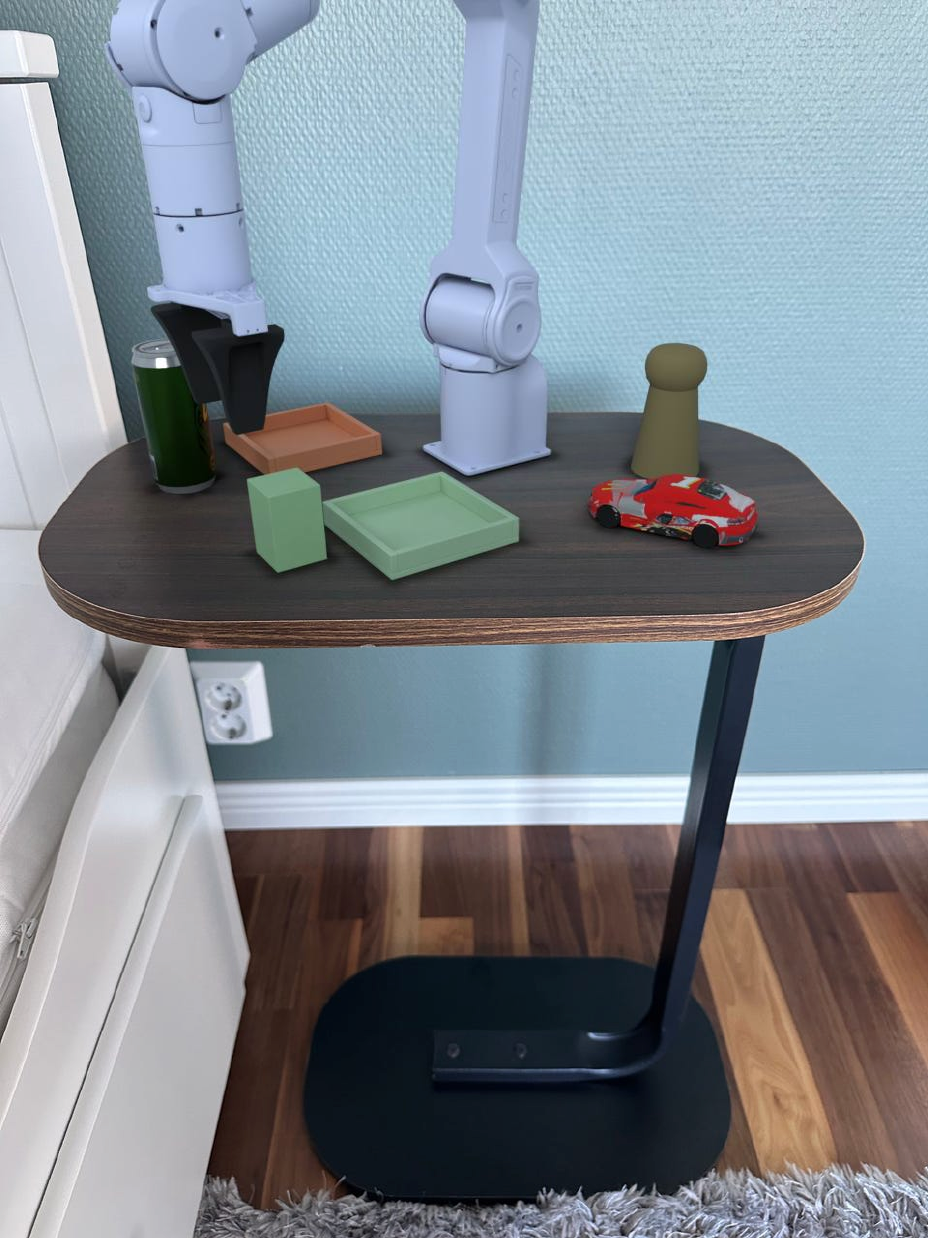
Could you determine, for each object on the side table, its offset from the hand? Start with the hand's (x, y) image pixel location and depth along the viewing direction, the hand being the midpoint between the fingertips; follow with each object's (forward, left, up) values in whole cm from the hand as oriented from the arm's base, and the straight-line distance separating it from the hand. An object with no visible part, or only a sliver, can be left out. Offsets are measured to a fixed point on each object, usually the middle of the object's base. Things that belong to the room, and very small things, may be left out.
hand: (228, 415), depth 68 cm
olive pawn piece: (-37, +7, -10) cm, 39 cm away
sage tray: (-12, +6, -10) cm, 17 cm away
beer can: (0, -14, -10) cm, 18 cm away
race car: (-29, +16, -10) cm, 35 cm away
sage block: (-2, +4, -10) cm, 11 cm away
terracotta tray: (-12, -16, -10) cm, 23 cm away
